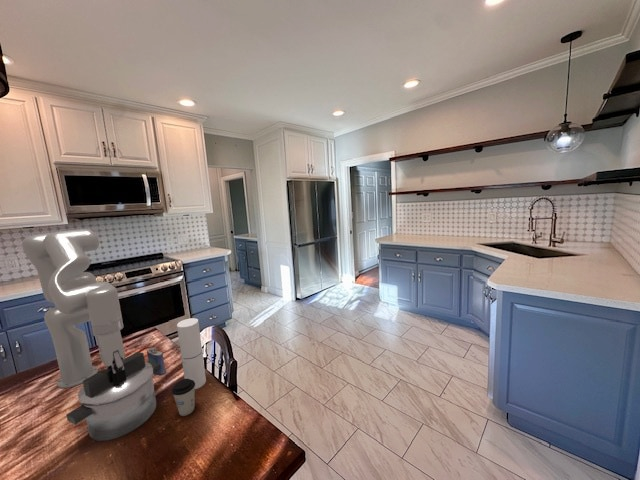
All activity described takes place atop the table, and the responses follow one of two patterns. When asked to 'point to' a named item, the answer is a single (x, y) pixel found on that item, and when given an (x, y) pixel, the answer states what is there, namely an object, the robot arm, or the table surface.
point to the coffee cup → (184, 396)
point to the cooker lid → (104, 391)
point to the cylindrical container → (191, 351)
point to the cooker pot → (118, 413)
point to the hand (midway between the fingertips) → (117, 377)
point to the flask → (156, 359)
